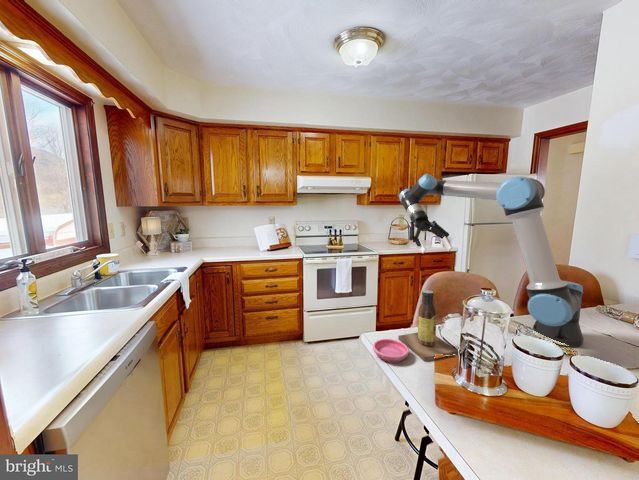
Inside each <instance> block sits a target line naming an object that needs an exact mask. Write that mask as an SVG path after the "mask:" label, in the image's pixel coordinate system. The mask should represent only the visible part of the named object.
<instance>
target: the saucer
mask: <svg viewBox="0 0 639 480" xmlns="http://www.w3.org/2000/svg"><path fill="white" fill-rule="evenodd" d="M372 350H373V351H374V353H375V355H377V356H378V358H380V360H383V361H385V362H389V363H399V362H402V361H403V360H404V359H406V358H407V357H408V356H409V354H410V349H409V348H408V347H407V346H406V345H405V344H404V343H402V342H401V341H400V340H397V339H393V338H382V339H379V340H376V341H374V342H373V345H372Z"/></svg>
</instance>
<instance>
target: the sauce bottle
mask: <svg viewBox="0 0 639 480" xmlns="http://www.w3.org/2000/svg"><path fill="white" fill-rule="evenodd" d="M434 294H435V293H434V291H432V290H429V289H425V290H423V289H422V291H421V295H422V300H421V302H422V303H421V304H420V305H419V307H418V317H417V318H418V321H417V332H418V342H419V343H420V344H422V345H425V346H433V345H434V344H435V340H436V336H437V310H436V308H435V305H434Z"/></svg>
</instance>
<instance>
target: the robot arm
mask: <svg viewBox="0 0 639 480" xmlns="http://www.w3.org/2000/svg"><path fill="white" fill-rule="evenodd" d="M545 194H546V190H545V186H544V184H543V183H542V182H541V181H539V180H538V179H536V178H531V177H527V176H514V177H511V178H507V179H506V180H505V181H503V182H499V181H498V182H494V181H473V180H472V181H471V180H469V181H468V180H445V179H436V178H435V177H434V176H433V175H431V174H429V173H424V174H423V175H422V176H421V177H420V178H419V179H418V181H416V183H415V184H414V185H413V186H412V187H411V188H405V189H404V190H401V192H399V195H398V198H399V200H400V204H401V205H402V206H403V208H404V210H405V212H406V214H407V216H408V218H409V219H410V222H409V224H408V227H409V238H408V239H409V241H412V242H413V243H415V245H416V246H417V247H418V249H419V251H420V252H421V254H424V253H426V251H427V248H426V245H425V243H424V242H423V240H422V238H421V237H420V234H421V232H429V233H431V234H434V235H435V236H437V237H438V238H439V239H440V240H441V242H442V244H443V246H444V247H445V249H446V250H447V252H450V251H451V250H452V249H453V246H452V245H451V242H450V240H449V238H448V237H449V236H450V233H449V232H447V231H446V230H445V229H444V228H443V227H442V226H441V225H439V224H438V223H437V222H436V220H432V221H430V220H429V217H428V214H427V213H426V212H425V210H424V208H423V206H422V204H421V203H420V202H421V201H422V200H423V199H424V198H425V197H426V196H432V195H433V196H444V197H445V196H447V197H457V198H468V199H469V198H470V199H478V200H479V199H481V200H491V201H497V203H498V205H500V206H501V207H502V208H503V212H504V215H505V217H506V218H508V219H509V220H511V221H512V225H513V229H514V232H515V236H516V238H517V243H518V246H519V249H520V253H521V257H522V260H523V263H524V266H525V271H526V273H527V277H528V281H529V283H528V284H527V286H526V288H525V289H526V292H527V295H528V297H529V299H528V301H527V310H528V313H529V314H530V316H531V317H532V318H533V319H534V320H536V321H535V322H534V324H533V325H532V330H534V331H536V332H538V333H540V334H542V335H544V336H546V337H549V338H551V339H553V340H556V341H559V342H561V343H565V344H567V345H569V346H571V347H570V348H579V347H582V346H583V344H584V336H583V333H582V329H581V326H580V316H581V308H582V299H583V294H584V291H583V290H584V287H583V285H582V284H580V283H576V282H573V281H567V280H562V279H561V278H560V274H559V271H558V269H557V265H556V262H555V259H554V258H555V257H554V254H553V252H552V248H551V245H550V241H549V239H548V238H549V237H548V235H547V231H546V229H545V224H544V221H543V218H542V215H541V213H542V212H543V210H544V209H545V206H544V203H543V199H544V197H545ZM415 228H417V229H416V232H415Z"/></svg>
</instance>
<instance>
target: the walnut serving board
mask: <svg viewBox="0 0 639 480" xmlns="http://www.w3.org/2000/svg"><path fill="white" fill-rule="evenodd" d="M397 339H398V341H400V342H402V343H404V344H405V345H406V346H407V347H408V349H409V351H412V352H413V353H414V354H415V355H416V356H417V357H418V358H420V359H421V360H422V362H423V361H424V362H428V361H434V360H435V359H434V357H435V354H443V355H453V354H459V350H458V349H457V348H455V347H453V346H452V345H451V344H449V343H448V342H446V341H445V340H443V339H442V338H440V337H439V336H437V335H436V340H435V344H434V345H433V346H425V345H422V344H420V343H419V342H418V331H417V332H413V333H405V334H400V335H398V338H397ZM453 356H454V355H453Z"/></svg>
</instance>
